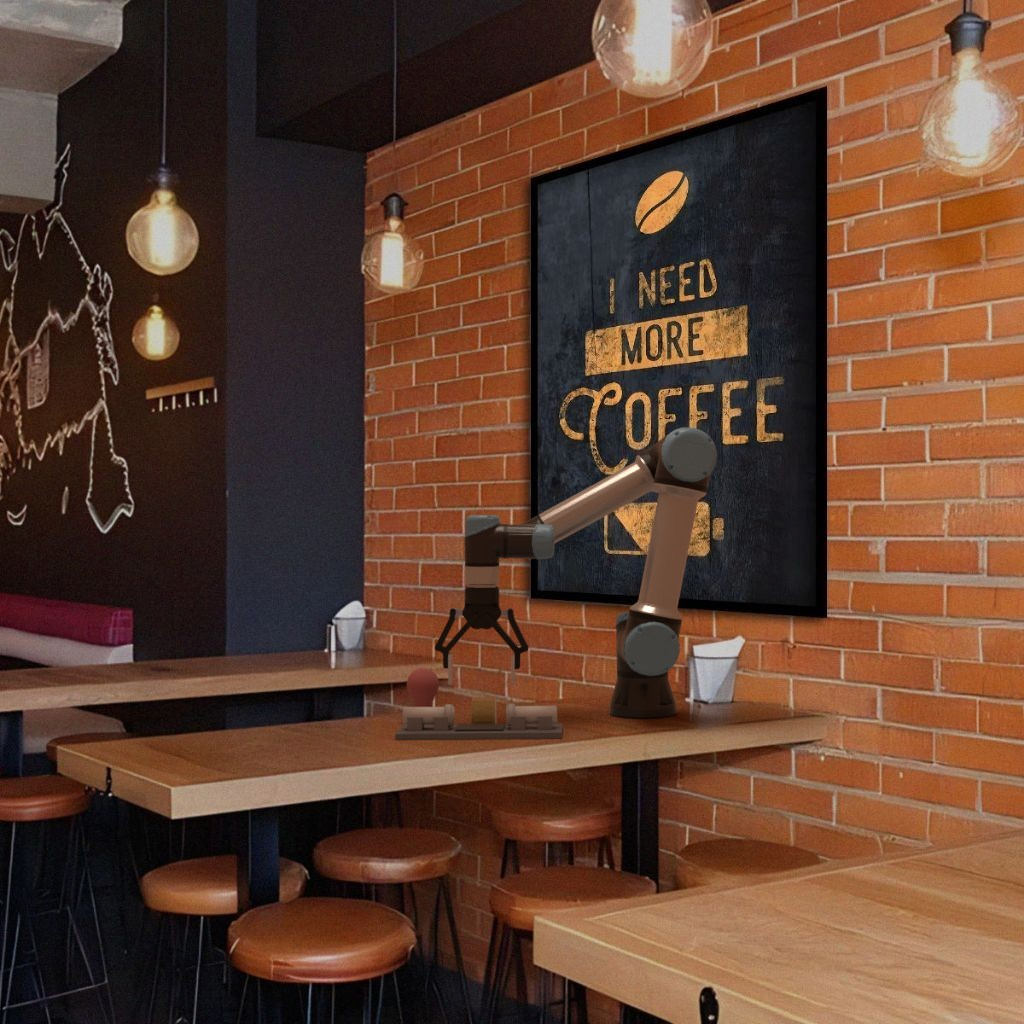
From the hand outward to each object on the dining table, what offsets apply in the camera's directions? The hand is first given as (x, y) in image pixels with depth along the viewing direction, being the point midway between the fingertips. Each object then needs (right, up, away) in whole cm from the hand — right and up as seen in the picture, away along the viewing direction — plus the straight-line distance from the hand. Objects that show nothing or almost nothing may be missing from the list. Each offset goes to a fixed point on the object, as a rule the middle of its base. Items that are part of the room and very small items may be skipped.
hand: (481, 684), depth 289 cm
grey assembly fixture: (0, -9, -11) cm, 14 cm away
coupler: (+1, -9, 0) cm, 9 cm away
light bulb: (-13, -10, +7) cm, 17 cm away
